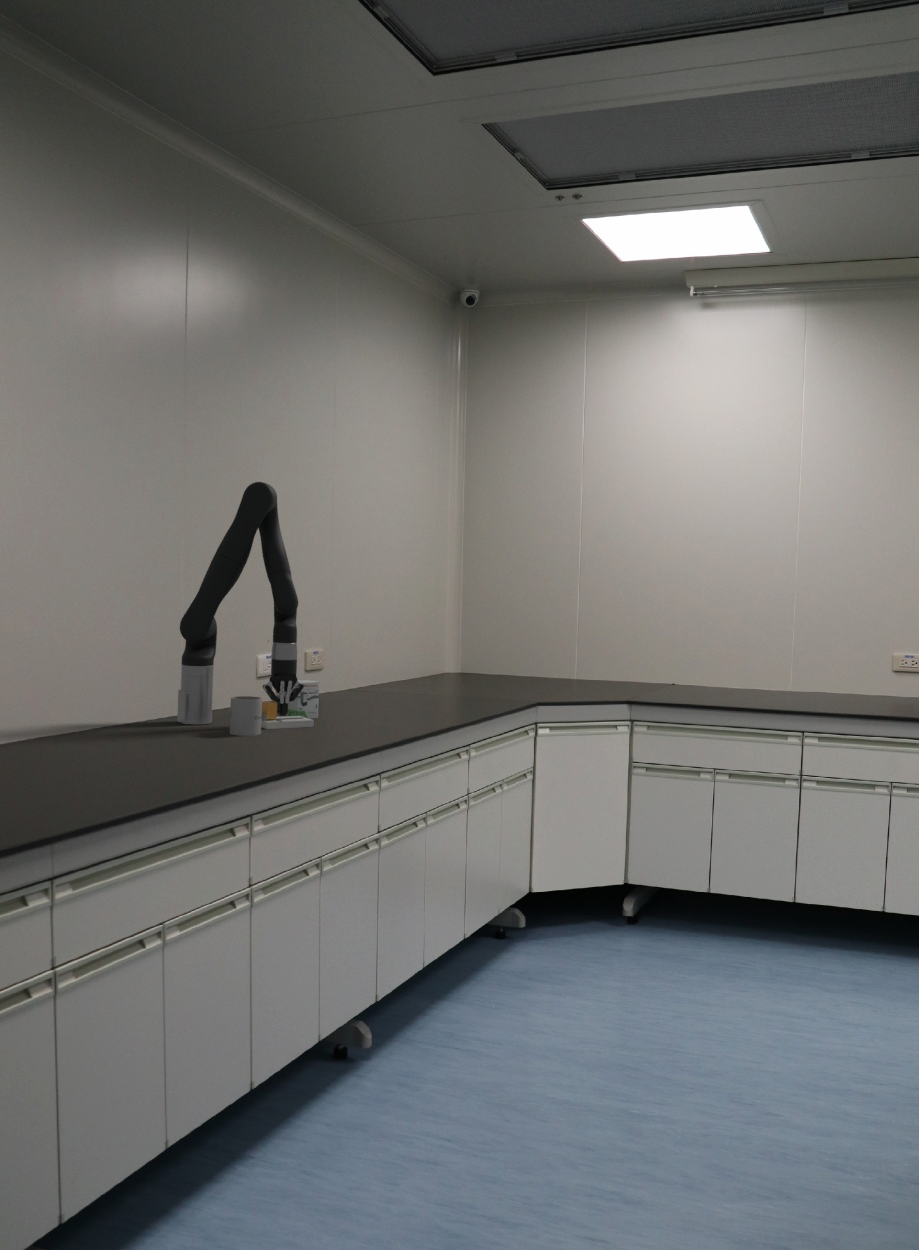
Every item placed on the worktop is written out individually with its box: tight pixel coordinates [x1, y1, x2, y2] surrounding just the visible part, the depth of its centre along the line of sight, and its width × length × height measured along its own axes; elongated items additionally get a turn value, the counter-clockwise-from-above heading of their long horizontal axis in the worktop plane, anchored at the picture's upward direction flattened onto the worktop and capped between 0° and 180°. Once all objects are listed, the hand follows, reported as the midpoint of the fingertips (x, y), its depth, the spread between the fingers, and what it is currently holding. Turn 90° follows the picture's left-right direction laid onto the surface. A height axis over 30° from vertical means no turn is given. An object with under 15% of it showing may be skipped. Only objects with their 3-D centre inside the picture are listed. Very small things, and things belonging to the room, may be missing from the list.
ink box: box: [287, 679, 320, 720], centre depth 329 cm, size 9×5×12 cm, turn 135°
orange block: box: [262, 700, 277, 719], centre depth 308 cm, size 3×4×5 cm
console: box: [261, 713, 315, 730], centre depth 311 cm, size 15×10×4 cm, turn 124°
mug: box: [229, 695, 263, 737], centre depth 295 cm, size 12×9×10 cm
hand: (282, 715), depth 311 cm, fingers closed
